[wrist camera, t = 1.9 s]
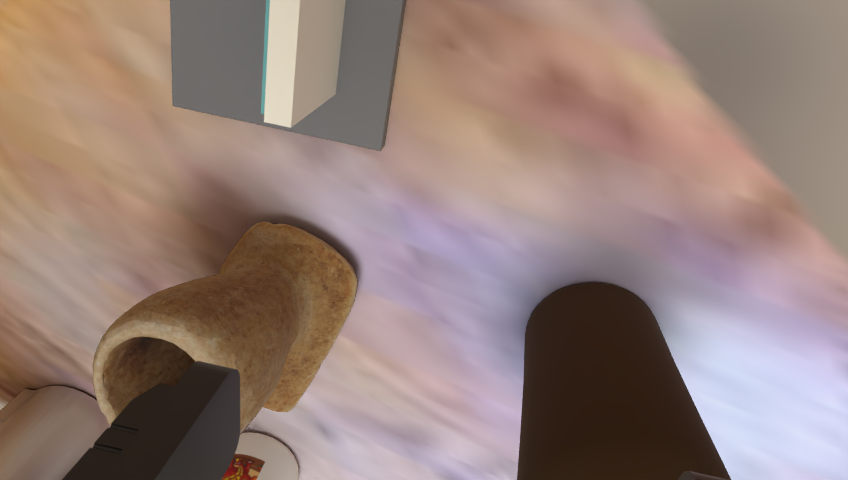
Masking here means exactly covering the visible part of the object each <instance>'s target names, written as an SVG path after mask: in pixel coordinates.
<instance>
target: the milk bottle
mask: <svg viewBox="0 0 848 480" xmlns="http://www.w3.org/2000/svg"><path fill="white" fill-rule="evenodd" d="M298 477H299V471H298V464H297V461H296V459H295V457H294V456H293V454H292V453H291V451H290V450H289V449H288V448H287V447H286V446H284V445H283V444H282V443H281V442H279V441H277V440H276V439H274V438H272V437H269V436H267V435H263V434H260V433H253V432H249V433H241V435H240V437H239V442H238V446H237V449H236V452H235V455H234V457H233V460H232V462H231V464H230V466H229V467H228V469H227V471H226V473H225V474H224V476H223V478H222V480H298Z"/></svg>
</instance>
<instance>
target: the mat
mask: <svg viewBox="0 0 848 480" xmlns="http://www.w3.org/2000/svg"><path fill="white" fill-rule="evenodd" d="M405 5H406V0H346V1H345V10H344V20H343V29H342V39H341V48H340V58H339V67H338V77H337V86H336V94H335V95H334V96H333V97H331V98H330V99H329V100H327V101H326V102H325V103H323V104H322V105H321V106H319V107H318V108H317V109H315V110H314V111H313V112H311V113H310V114H309V115H307V116H306V117H305V118H303V119H302V120H301V121H299V122H298V123H297V124H295V125H294V126H293V127H291V128H289V127H285V126H280V125H276V124H271V123H266V122H264V114H261V98H262V77H263V56H264V35H265V13H266V0H170V11H171V55H172V98H173V106H175V107H180V108H184V109H189V110H194V111H198V112H203V113H207V114H212V115H217V116H221V117H226V118H230V119H235V120H240V121H244V122H249V123H253V124H258V125H263V126H267V127H272V128H276V129H281V130H286V131H290V132H295V133H299V134H304V135H309V136H313V137H318V138H323V139H327V140H332V141H336V142H341V143H346V144H350V145H355V146H359V147H364V148H369V149H373V150H378V151H381V150H382V148H383V147H384V145H385V138H386V132H387V125H388V118H389V112H390V105H391V98H392V91H393V85H394V78H395V71H396V65H397V58H398V51H399V45H400V38H401V31H402V25H403V18H404V11H405Z"/></svg>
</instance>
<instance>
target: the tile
mask: <svg viewBox="0 0 848 480" xmlns="http://www.w3.org/2000/svg"><path fill="white" fill-rule="evenodd" d="M345 1H346V0H266V13H265V35H264V56H263V77H262V98H261V114H264V122H266V123H271V124H276V125H280V126H285V127H289V128H291V127H293V126H294V125H295V124H297V123H298V122H299V121H301V120H302V119H303V118H305V117H306V116H307V115H309V114H310V113H311V112H313V111H314V110H315V109H317V108H318V107H319V106H321V105H322V104H323V103H325V102H326V101H327V100H329V99H330V98H331V97H333V96H334V95H335V94H336V86H337V77H338V67H339V58H340V48H341V39H342V29H343V20H344V10H345Z"/></svg>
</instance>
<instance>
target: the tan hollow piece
mask: <svg viewBox="0 0 848 480" xmlns="http://www.w3.org/2000/svg"><path fill="white" fill-rule="evenodd" d="M357 283H358V280H357V277H356V273H355V271H354V269H353V267H352V266H351V265H350V264H349V262H348V261H347V260H346V259H345V258H344V257H343V256H342V255H341V254H340V253H339V252H337V251H336V250H335V249H334V248H333V247H332V246H330V245H329V244H327V243H326V242H324V241H323V240H321V239H319V238H318V237H316V236H314V235H312V234H310V233H308V232H306V231H304V230H302V229H300V228H298V227H295V226H292V225H287V224H272V223H270V222H259V223H257V224H255V225H253V226H252V227H251V228H250V229H249V230H248V231H247V232H246V233H245V234H244V235H243V236H242V237H241V239H240V240H239V241H238V243H237V244H236V245H235V247H234V248H233V250H232V251H231V252H230V254H229V255H228V257H227V258H226V260H225V261H224V263H223V265H222V267H221V269H220V271H219V274H218V275H214V276H210V277H205V278H201V279H196V280H192V281H189V282H185V283H182V284H179V285H176V286H173V287H170V288H167V289H165V290H162V291H160V292H157V293H155V294H153V295H151V296H149V297H147V298H146V299H144V300H142V301H141V302H139V303H138V304H136V305H135V306H133V307H132V308H131V309H129V310H128V311H127V312H125V313H124V314H123V315H122V316H121V317H120V318H118V319H117V320H116V321H115V322H114V323H113V324H112V325H111V326H110V327H109V328H108V330H107V331H106V333H105V334H104V335H103V337H102V339H101V341H100V343H99V345H98V348H97V350H96V353H95V356H94V362H93V385H94V390H95V395H96V398H97V401H98V404H99V407H100V409H101V411H102V413H103V414H104V415H105V416H106V418H107V422H108V423H109V425H110V426H111V423H112V422H113V421H114V420H115V418H116V417H117V416H118V415H119V414H120V413H121V412H122V410H123V409H124V408H125V407H126V406H127V405H128V404H129V403H130V401H131V400H133V399H134V398H136V397H138V396H139V395H141V394H142V393H144V392H146V391H147V390H149V389H151V388H152V387H154V386H156V385H157V384H159V383H162V384H167V385H171V386H175V384H176V383H177V382H178V381H179V379H180V378H181V377H182V376H183V374H184V373H185V372H186V371H187V369H188V368H189V367H190V366H191V365H192V364H193V363H194V362H196V361H201V362H206V363H210V364H215V365H219V366H224V367H228V368H233V369H237V370H238V371H239V373H240V435H241V433H242V432H243V431H244V430H245V428H246V427H247V426H248V425H249V423H250V422H251V421H252V420H253V419H254V417H255V416H256V415H257V414H258V412H259V411H260V409H261V408H262V407H265V408H268V409H270V410H273V411H277V412H288V411H289V410H291V409H293V408H294V407H295V405H296V404H297V402H298V401H299V399H300V398H301V396H302V395H303V394H304V392H305V391H306V389H307V388H308V386H309V385H310V383H311V382H312V380H313V378H314V376H315V375H316V373H317V371H318V370H319V368H320V365H321V363H322V361H323V360H324V359H325V357H326V356H327V354H328V352H329V351H330V349H331V347H332V345H333V344H334V342H335V340H336V338H337V336H338V334H339V332H340V331H341V329H342V327H343V325H344V323H345V321H346V319H347V317H348V315H349V313H350V311H351V308H352V306H353V303H354V300H355V296H356V291H357Z"/></svg>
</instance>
